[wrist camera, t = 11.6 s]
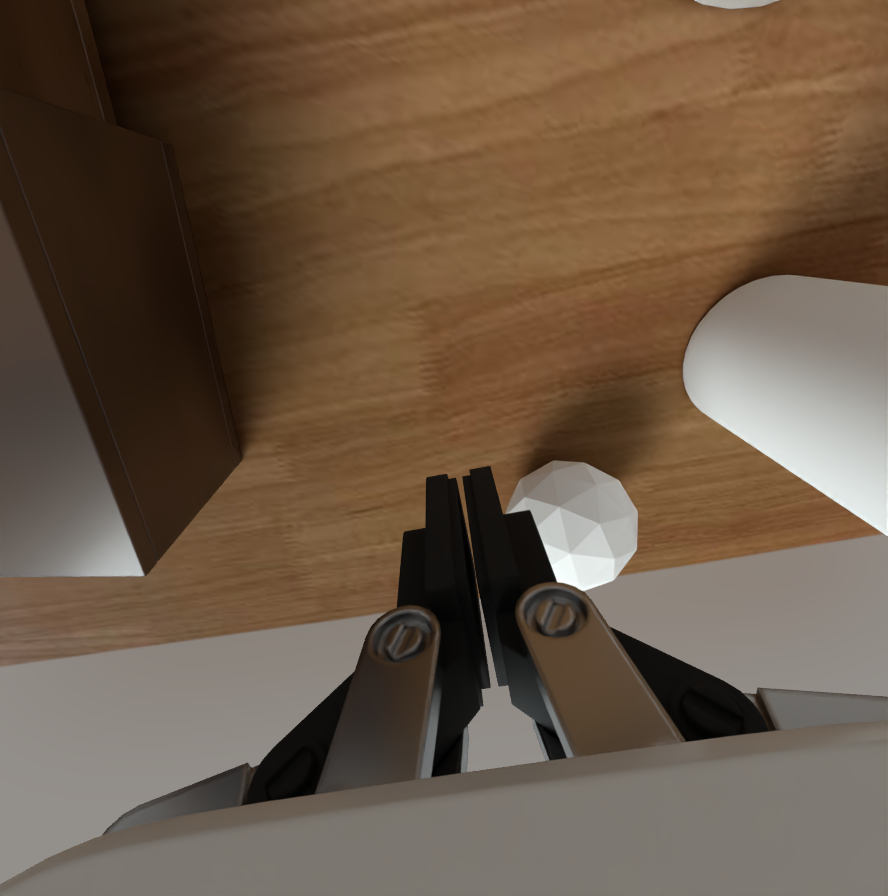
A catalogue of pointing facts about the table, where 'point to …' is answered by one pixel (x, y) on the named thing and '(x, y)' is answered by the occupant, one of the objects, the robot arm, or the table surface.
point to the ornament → (579, 521)
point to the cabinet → (100, 350)
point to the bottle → (802, 381)
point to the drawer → (53, 56)
